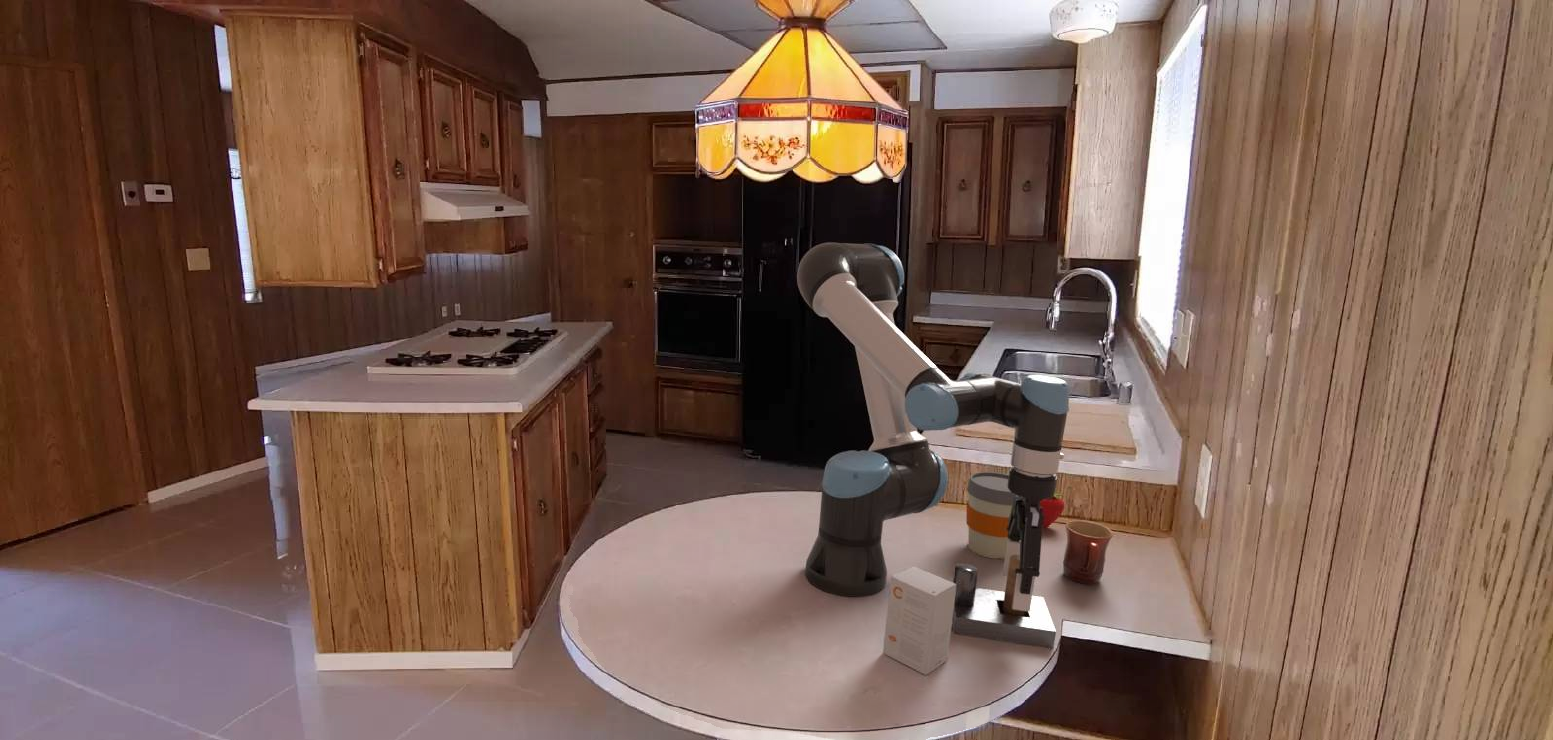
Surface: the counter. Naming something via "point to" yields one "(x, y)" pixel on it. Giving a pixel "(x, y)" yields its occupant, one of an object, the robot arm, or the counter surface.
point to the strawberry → (1051, 509)
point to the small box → (919, 619)
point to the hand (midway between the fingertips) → (1015, 592)
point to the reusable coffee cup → (989, 513)
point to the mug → (1085, 551)
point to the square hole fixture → (997, 614)
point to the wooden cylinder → (1011, 587)
